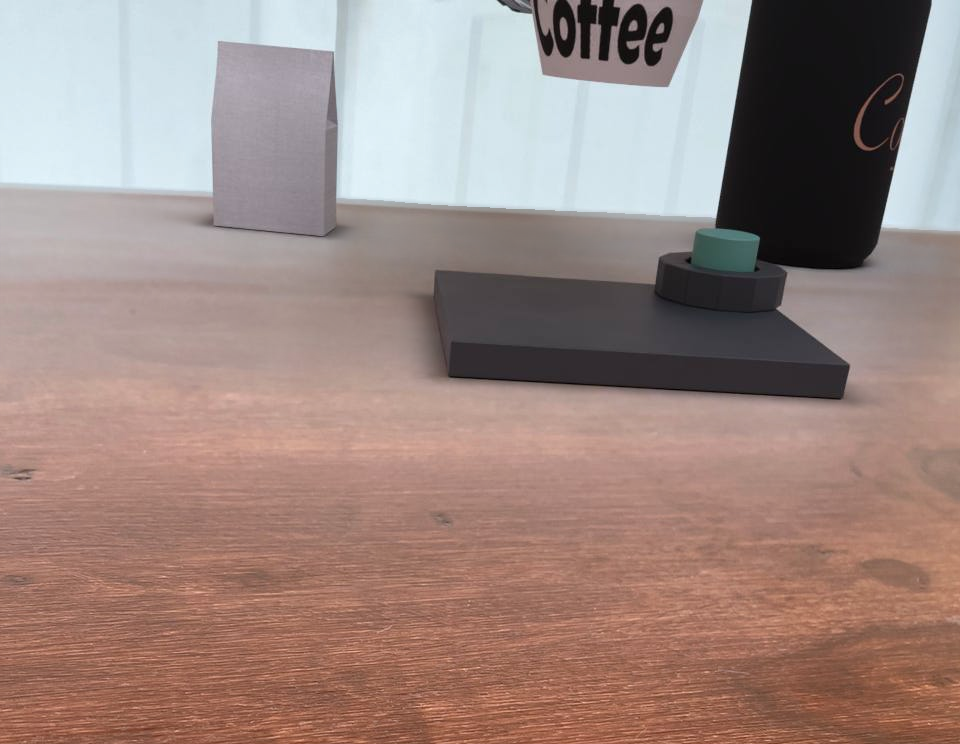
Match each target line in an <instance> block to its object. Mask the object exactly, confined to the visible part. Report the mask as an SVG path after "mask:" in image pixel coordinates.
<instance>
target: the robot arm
mask: <svg viewBox="0 0 960 744" xmlns="http://www.w3.org/2000/svg"><path fill="white" fill-rule="evenodd" d="M496 1H497V3H499V4H500V5H501V6H502V7H507V8H508V9H509V10H510V11H512V12H515V13H517V14H519V13H520V14H525V15H526V14H528V15H532V9H531V3H530V0H496Z"/></svg>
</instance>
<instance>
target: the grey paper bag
mask: <svg viewBox="0 0 960 744" xmlns="http://www.w3.org/2000/svg"><path fill="white" fill-rule="evenodd" d="M216 57H217V58H216V67H215V79H214V87H213V96H212V97H213V99H212V106H211V107H212V108H211V116H210V117H211V118H210V128H211V129H210V131H211V134H210V135H211V168H212V169H211V171H212V174H211V175H212V207H213V208H212V209H213V210H212V211H213V212H212V213H213V226H216V227H223V228H225V227H226V228H235V229H247V230H257V231H267V232H275V233H287V234H295V235H296V234H298V235H307V236H316V237H325V236H326V235H327V234H329V233H330V232H331V231H332V230H334V229H335V228H336V227H337V190H338V189H337V185H338V184H337V183H338V142H339V141H338V138H339V137H338V136H339V123H338V121H339V120H338V108H337V107H338V106H337V93H336V92H337V91H336V90H337V89H336V74H335V73H336V72H335V51H333V50H323V49H312V48H301V47H300V48H299V47H291V46H289V47H288V46H277V45H269V44H259V43H258V44H257V43H245V42H234V41H223V40H218V41H217V56H216Z"/></svg>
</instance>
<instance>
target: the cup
mask: <svg viewBox="0 0 960 744" xmlns="http://www.w3.org/2000/svg"><path fill="white" fill-rule="evenodd" d="M530 3H531V9H532V14H531V15H532V21H533V26H534V27H533V28H534V32H535V38H536V43H537V50H538V56H539V62H540V67H541V73H542V75H543V76H548V77H552V78H553V77H554V78H559V79H568V80H574V81H575V80H576V81H585V82H595V83H603V84H614V85H624V86H625V85H626V86H638V87H650V88H651V87H652V88H669V87H670V84H671V82H672V80H673V78H674V75H675V73H676V70H677V69H678V67H679V63H680V61H681V59H682V56H683V54H684V52H685V50H686V47H687V45H688V43H689V40H690V38H691V35H692V33H693V31H694V28H695V26H696V24H697V23H698V19H699V18H700V17H699V16H700V13H701V10H702V7H703V3H704V0H530Z"/></svg>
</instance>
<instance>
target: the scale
mask: <svg viewBox="0 0 960 744" xmlns="http://www.w3.org/2000/svg"><path fill="white" fill-rule="evenodd" d="M692 252H693V251H680V252H679V251H678V252H677V251H676V252H668V253H666V254H663V255H660V256H659V257H658V261H657V268H656V273H655V274H656V275H655V282H654V283H641V282H629V281H628V282H627V281H613V280H612V281H611V280H598V279H597V280H596V279H581V278H579V279H578V278H568V277H567V278H566V277H552V276H535V275H521V274H505V273H491V272H474V271H459V270H446V269H445V270H444V269H435V270H434V282H433V302H434V309H435V314H436V318H437V323H438V328H439V333H440V338H441V343H442V348H443V353H444V358H445V364H446V368H447V375H448V376H449V377H455V378H456V377H459V378H473V379H474V378H475V379H476V378H477V379H491V380H492V379H493V380H508V381H509V380H511V381H531V382H543V383H544V382H546V383H562V384H563V383H564V384H565V383H566V384H580V385H597V386H598V385H600V386H617V387H618V386H619V387H633V388H635V387H636V388H652V389H666V390H667V389H670V390H687V391H688V390H689V391H705V392H719V393H720V392H721V393H741V394H756V395H757V394H758V395H772V396H773V395H774V396H775V395H776V396H794V397H809V398H827V399H828V398H829V399H843V398H844V395H845V391H846V386H847V382H848V377H849V373H850V369H851V364H850V363H849V362H847V361H846V360H845V359H844V358H842V357H841V356H839V355H838V354H837V353H835V352H834V351H832V350H831V349H830V348H828V346H826V345H825V344H823V343H822V342H821V341H819V340H818V339H817V338H815V337H814V336H813V335H812V334H810V333H809V332H808V331H806V330H805V329H803V328H802V326H800V325H798V323H795V321H793V320H792V319H790V318H789V317H788V316H786V315H785V314H784V313H782V312H781V311H780V310H778V308H779V307H780V306H782V303H783V297H784V292H785V291H784V290H785V287H786V281H787V276H788V271H787V270H786V269H784V268H783V267H780V265H777V264H776V263H772V262H766V261H761V260H757V259H756V263H755V268H754V272H735V271H721V270H715V269H709V268H702V267H699V266H695V265H692V264H691V258H692Z"/></svg>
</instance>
